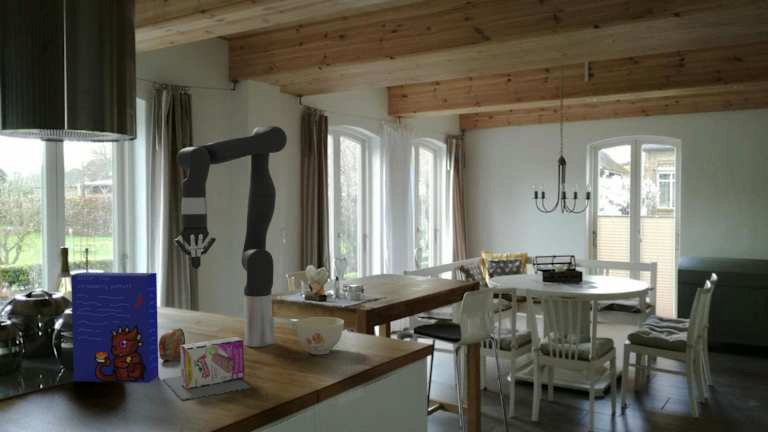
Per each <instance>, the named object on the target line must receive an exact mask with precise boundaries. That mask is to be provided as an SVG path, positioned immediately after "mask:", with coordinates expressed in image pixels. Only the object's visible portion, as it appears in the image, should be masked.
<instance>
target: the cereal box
mask: <svg viewBox="0 0 768 432" xmlns="http://www.w3.org/2000/svg"><path fill="white" fill-rule="evenodd" d="M157 275H158V273H157V272H99V271H98V272H95V271H94V272H92V271H91V272H77V273H74V274H71V275H70V278H71V279H70V280H71V282H70V283H71V317H72V319H71V321H72V324H71V325H72V357H73V359H72V360H73V382H88V383H89V382H93V383H124V384H125V383H127V384H128V383H130V384H131V383H132V384H150V383H151V382H153V381H154V380H156V379H157V378H159V375H160V374H159V337H158V336H159V333H158V332H159V331H158V327H159V326H158V325H159V323H158V287H157V283H158V279H157V277H158V276H157Z"/></svg>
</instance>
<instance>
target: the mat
mask: <svg viewBox="0 0 768 432" xmlns="http://www.w3.org/2000/svg"><path fill="white" fill-rule="evenodd" d="M162 382H164V383H165V384H166V386H167V385H168V386H167V387H168V388H169V389H170V388H171V389H172V390H173V391H172V390H171V389H170V390H171V391H172V392H173V393H174V394H175V395H176V397H178V399H180V401H182V400H184V401H187V400H186V399H190V398H195V399H197V398H196V397H200V396H206V395H211V394H217V393H222V392H228V393H230V392H229V391H233V392H236V391H235V390H238V391H243V390H242V389H244V390H248V389H247V388H249V389H251V386H250V385H249V384H248V383H246V382H245V381H244V380H243V379H238V380H233V381H228V382H222V383H217V384H212V385H207V386H202V387H196V388H191V389H185V387H183V386H182V385H181V375H179V376H173V377H166V378H162ZM222 394H223V393H222ZM217 395H218V394H217ZM211 396H212V395H211ZM206 397H207V396H206ZM190 400H191V399H190Z"/></svg>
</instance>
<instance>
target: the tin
mask: <svg viewBox="0 0 768 432" xmlns="http://www.w3.org/2000/svg"><path fill="white" fill-rule="evenodd" d="M185 344H186V336H185V331H184V330H183V329H182V328H173V329H170V330H168V331H167V332H166V333H164V334H162V335H161V336H160V338H159V339H158V354H159V358H160V360H162V361H173V360H174V359H176V358H178V357H180V356H181V355H180V345H185Z"/></svg>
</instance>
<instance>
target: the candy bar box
mask: <svg viewBox="0 0 768 432" xmlns="http://www.w3.org/2000/svg"><path fill="white" fill-rule="evenodd" d="M244 350H245V349H244V339H243V338H240V337H239V336H232V337H228V338H221V339H220V338H219V339H213V340H205V341H200V342H193V343H187V344H186V343H185V345H180V355H179V356H180V376H181V385H182V386H183V387H185V389H191V388H196V387H202V386H207V385H212V384H217V383H222V382H228V381H233V380H238V379H241V380H243V379H245V357H244V355H245V354H244Z"/></svg>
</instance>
